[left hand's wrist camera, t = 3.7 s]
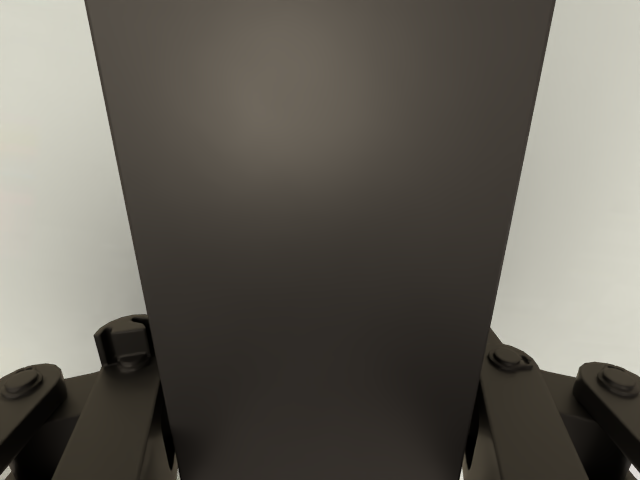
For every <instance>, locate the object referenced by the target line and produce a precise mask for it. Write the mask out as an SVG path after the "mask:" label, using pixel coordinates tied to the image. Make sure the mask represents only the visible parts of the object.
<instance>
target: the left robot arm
mask: <svg viewBox="0 0 640 480" xmlns="http://www.w3.org/2000/svg"><path fill="white" fill-rule="evenodd" d="M94 338H95V342H96V346H97V350H98V353H99V357H100V361H101V364H102V367H101V370H100V371H98V372H95V373H91V374H86V375H81V376H77V377H72V378H67V379H64V378H63V375H62V372H61V369H60V368H59V367H57V366H56V365H53V364H46V363H45V364H38V365H31V366H27V367H25V368H21V369H18V370H16V371H14V372H12V373H10V374H8V375H6V376H4V377H3V378H1V379H0V475H1V474H2V473H3V471H4V470H5V469H6V468H7V467H8V465H9V466H10V469H11V473H10V474H9V475H8V476H7V478H6V479H5V480H176V479H177V470H178V464H177V459H176V454H175V449H174V444H173V439H172V434H171V429H170V424H169V419H168V414H167V409H166V404H165V399H164V394H163V389H162V384H161V379H160V374H159V369H158V364H157V360H156V355H155V350H154V345H153V340H152V335H151V330H150V325H149V320H148V315H146V314H140V315H130V316H126V317H121V318H119V319H116V320H114V321H111V322H109V323H107V324H106V325H104V326H103V327H101V328H100V329H99V330H98V331H97V332H96V333H95V334H94ZM631 463H632V464H633V465H634V467H635V468H636V469H637V470H638V471H639V473H640V377H639V376H637V375H636V374H634V373H631V372H629V371H627V370H625V369H624V368H621V367H618V366H614V365H612V364H607V363H600V362H590V363H584V364H583V365H582V366H581V367H579V370H578V374H577V377H576V378H575V377H571V376H566V375H561V374H556V373H552V372H547V371H544V370H540V369H539V367H538V365H537V364H536V362H535V361H534V360H533V358H531V357H530V356H529V355H527V354H526V353H525V352H523V351H521V350H519V349H517V348H515V347H513V346H509V345H505V344H502V342H501V341H500V340H499V338H498V337H497V336H496V334H495V333H494V332H493V331H492V329H491V328H490V330H489V335H488V340H487V345H486V350H485V355H484V359H483V364H482V369H481V374H480V379H479V384H478V389H477V394H476V399H475V404H474V409H473V414H472V419H471V424H470V429H469V434H468V439H467V444H466V449H465V454H464V459H463V464H462V469H463V478H464V480H637V479H636V478H635V477H634V476H633V474H632V473H631V472H630V471H629V468H630V466H631Z"/></svg>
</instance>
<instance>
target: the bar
mask: <svg viewBox="0 0 640 480" xmlns="http://www.w3.org/2000/svg"><path fill="white" fill-rule="evenodd" d="M84 1H85V6H86V11H87V16H88V21H89V26H90V31H91V36H92V41H93V46H94V51H95V56H96V61H97V66H98V71H99V76H100V81H101V86H102V91H103V96H104V101H105V106H106V111H107V116H108V121H109V126H110V130H111V135H112V140H113V145H114V150H115V155H116V160H117V165H118V170H119V175H120V180H121V185H122V190H123V195H124V200H125V205H126V210H127V215H128V220H129V225H130V230H131V235H132V240H133V245H134V250H135V255H136V260H137V265H138V270H139V275H140V280H141V285H142V290H143V295H144V300H145V305H146V310H147V315H148V320H149V325H150V330H151V335H152V340H153V345H154V350H155V355H156V360H157V364H158V369H159V374H160V379H161V384H162V389H163V394H164V399H165V404H166V409H167V414H168V419H169V424H170V429H171V434H172V439H173V444H174V449H175V454H176V459H177V464H178V469H179V474H180V479H181V480H459V479H460V474H461V469H462V464H463V459H464V454H465V449H466V444H467V439H468V434H469V429H470V424H471V419H472V414H473V409H474V404H475V399H476V394H477V389H478V384H479V379H480V374H481V369H482V364H483V359H484V355H485V350H486V345H487V340H488V335H489V330H490V325H491V320H492V315H493V310H494V305H495V300H496V295H497V290H498V285H499V280H500V275H501V270H502V265H503V260H504V255H505V250H506V245H507V240H508V235H509V230H510V225H511V220H512V215H513V210H514V205H515V200H516V195H517V190H518V185H519V180H520V176H521V171H522V166H523V161H524V156H525V151H526V146H527V141H528V136H529V131H530V126H531V121H532V116H533V111H534V106H535V101H536V96H537V91H538V86H539V81H540V76H541V71H542V66H543V61H544V56H545V51H546V46H547V41H548V36H549V31H550V26H551V21H552V16H553V11H554V6H555V1H556V0H84Z"/></svg>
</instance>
